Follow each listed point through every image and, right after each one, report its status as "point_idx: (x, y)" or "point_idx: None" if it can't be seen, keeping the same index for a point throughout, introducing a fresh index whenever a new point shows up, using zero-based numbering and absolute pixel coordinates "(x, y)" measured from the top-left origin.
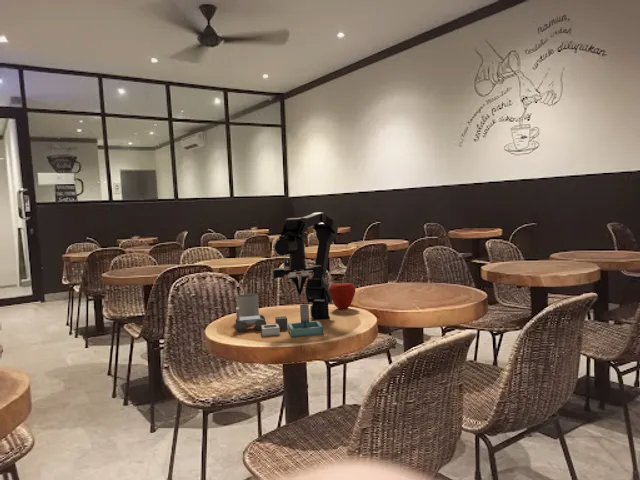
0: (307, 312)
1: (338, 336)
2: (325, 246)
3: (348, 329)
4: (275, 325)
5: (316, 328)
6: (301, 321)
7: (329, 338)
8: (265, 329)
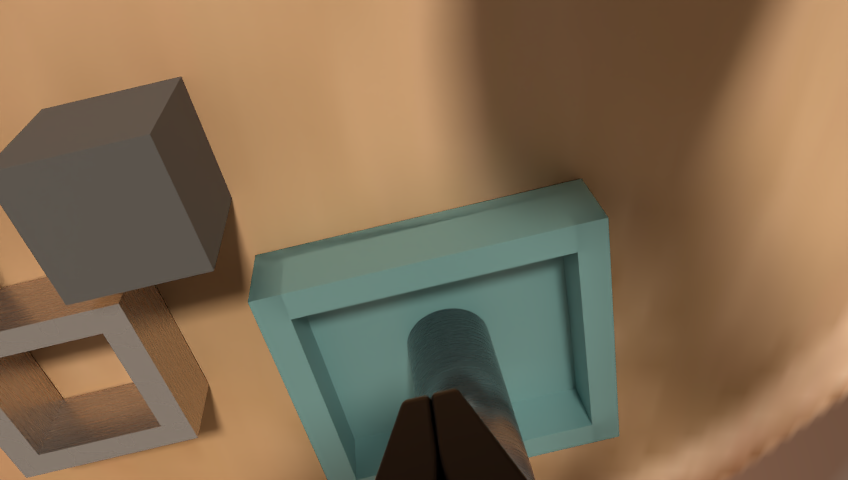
0: None
1: (693, 437)
2: None
3: (835, 270)
4: (103, 325)
5: (556, 442)
6: None
7: (622, 473)
8: (62, 464)
